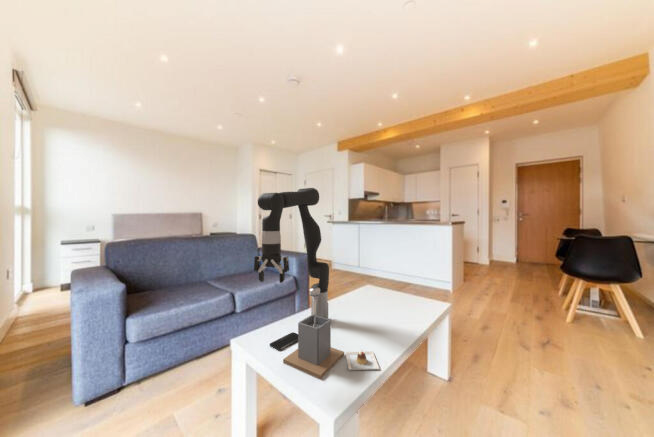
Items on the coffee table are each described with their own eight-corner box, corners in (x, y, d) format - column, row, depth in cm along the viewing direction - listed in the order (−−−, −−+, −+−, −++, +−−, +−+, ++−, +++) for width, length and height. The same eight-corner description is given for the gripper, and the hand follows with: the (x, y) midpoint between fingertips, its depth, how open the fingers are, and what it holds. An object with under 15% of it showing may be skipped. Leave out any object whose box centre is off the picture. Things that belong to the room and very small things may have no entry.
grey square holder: (310, 343, 110) (310, 309, 110) (344, 355, 100) (344, 318, 100) (283, 362, 95) (283, 324, 95) (320, 379, 85) (320, 336, 85)
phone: (304, 336, 115) (279, 350, 103) (304, 339, 115) (279, 352, 103) (292, 331, 120) (268, 343, 108) (292, 334, 120) (268, 346, 108)
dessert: (372, 354, 102) (373, 343, 102) (380, 371, 90) (380, 359, 90) (345, 354, 102) (345, 343, 102) (348, 372, 90) (348, 359, 90)
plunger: (312, 323, 103) (312, 285, 103) (327, 328, 99) (327, 288, 99) (301, 330, 97) (301, 289, 97) (316, 335, 92) (317, 292, 92)
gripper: (291, 241, 99) (291, 280, 99) (259, 240, 102) (260, 278, 102) (284, 243, 91) (284, 285, 91) (250, 242, 94) (250, 283, 94)
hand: (271, 281), depth 97 cm, fingers open, 8 cm apart
